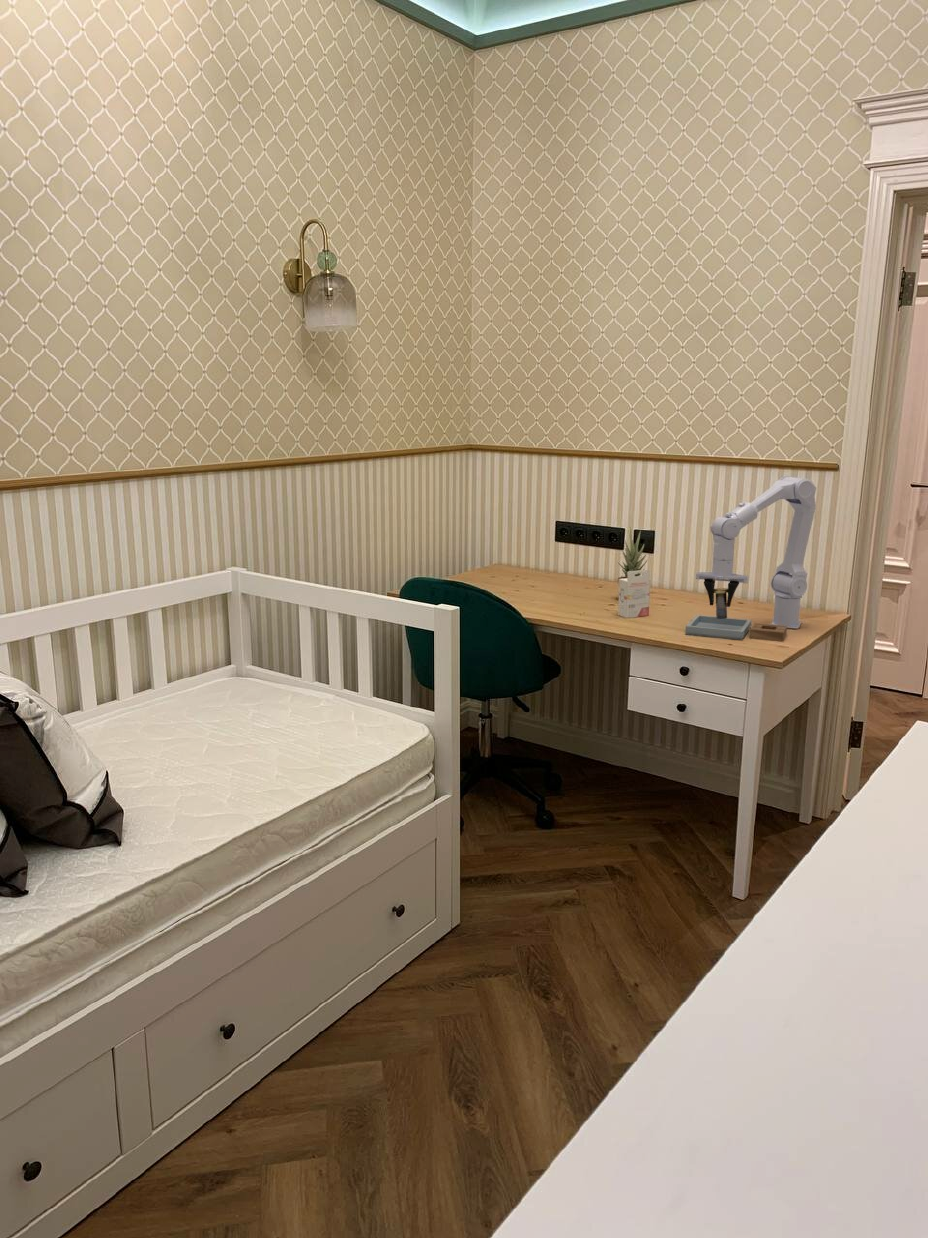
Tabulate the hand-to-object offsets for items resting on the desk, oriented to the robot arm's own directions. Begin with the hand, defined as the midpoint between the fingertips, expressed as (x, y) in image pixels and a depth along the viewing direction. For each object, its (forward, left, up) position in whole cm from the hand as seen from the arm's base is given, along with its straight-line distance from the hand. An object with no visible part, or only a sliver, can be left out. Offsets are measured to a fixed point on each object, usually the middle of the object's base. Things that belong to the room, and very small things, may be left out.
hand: (720, 605), depth 282 cm
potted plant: (-33, -35, -8) cm, 49 cm away
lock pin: (0, +1, -4) cm, 4 cm away
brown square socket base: (0, +14, -8) cm, 16 cm away
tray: (0, 0, -8) cm, 8 cm away
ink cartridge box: (-10, -28, -8) cm, 31 cm away
